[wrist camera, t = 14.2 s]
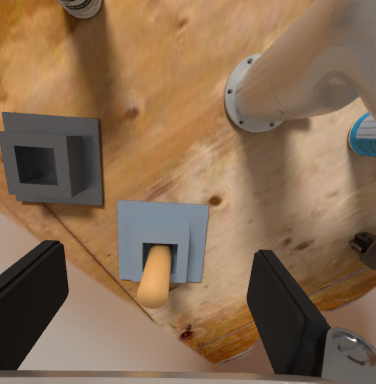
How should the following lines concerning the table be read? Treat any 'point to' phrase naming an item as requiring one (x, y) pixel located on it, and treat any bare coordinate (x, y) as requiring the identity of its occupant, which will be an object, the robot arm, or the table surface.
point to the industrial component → (366, 248)
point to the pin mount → (52, 158)
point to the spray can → (81, 7)
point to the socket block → (162, 237)
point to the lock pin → (156, 276)
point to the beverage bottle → (363, 136)
